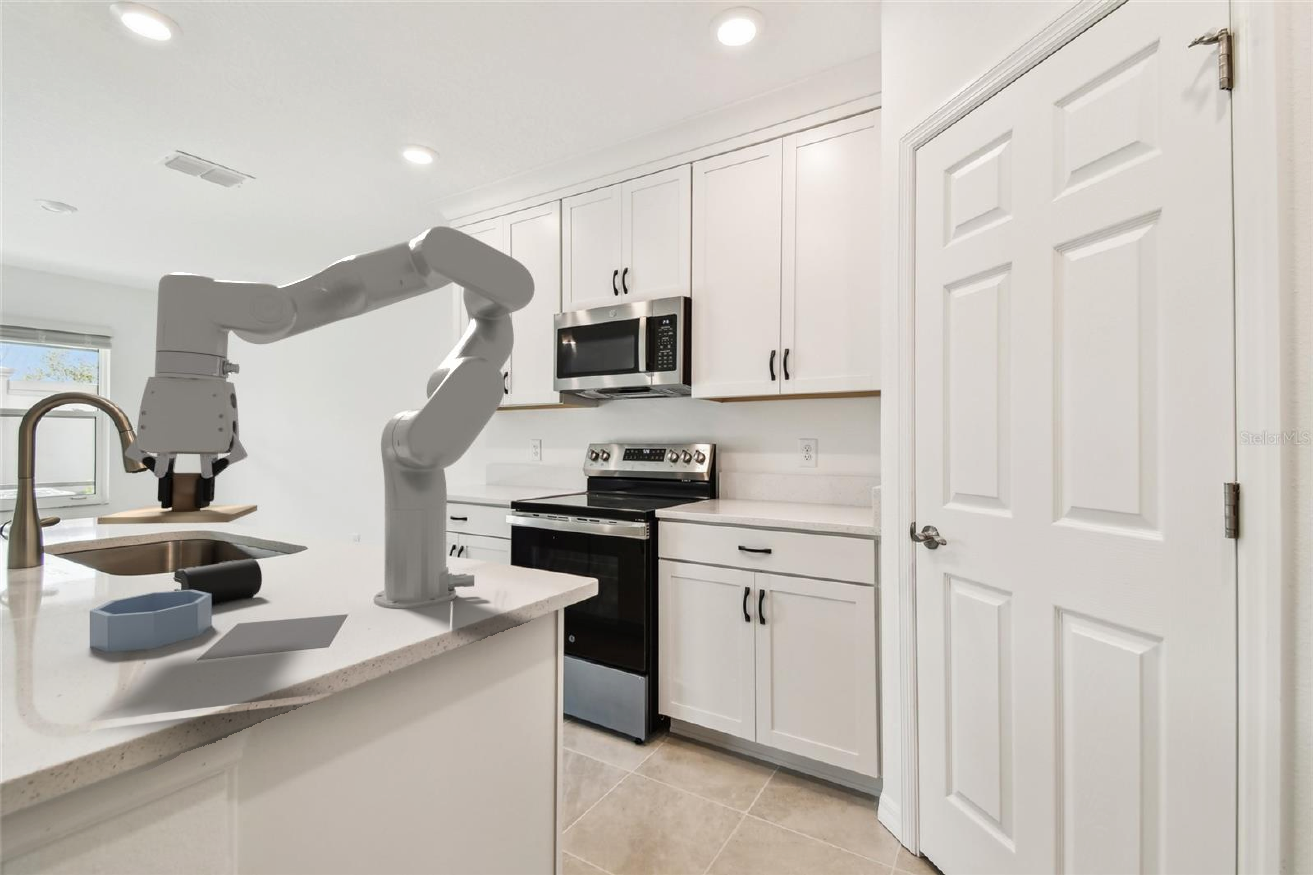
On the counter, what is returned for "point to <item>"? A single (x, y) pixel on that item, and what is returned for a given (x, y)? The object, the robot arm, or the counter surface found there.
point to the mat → (276, 636)
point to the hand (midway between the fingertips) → (186, 506)
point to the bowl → (150, 620)
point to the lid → (180, 508)
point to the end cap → (222, 579)
